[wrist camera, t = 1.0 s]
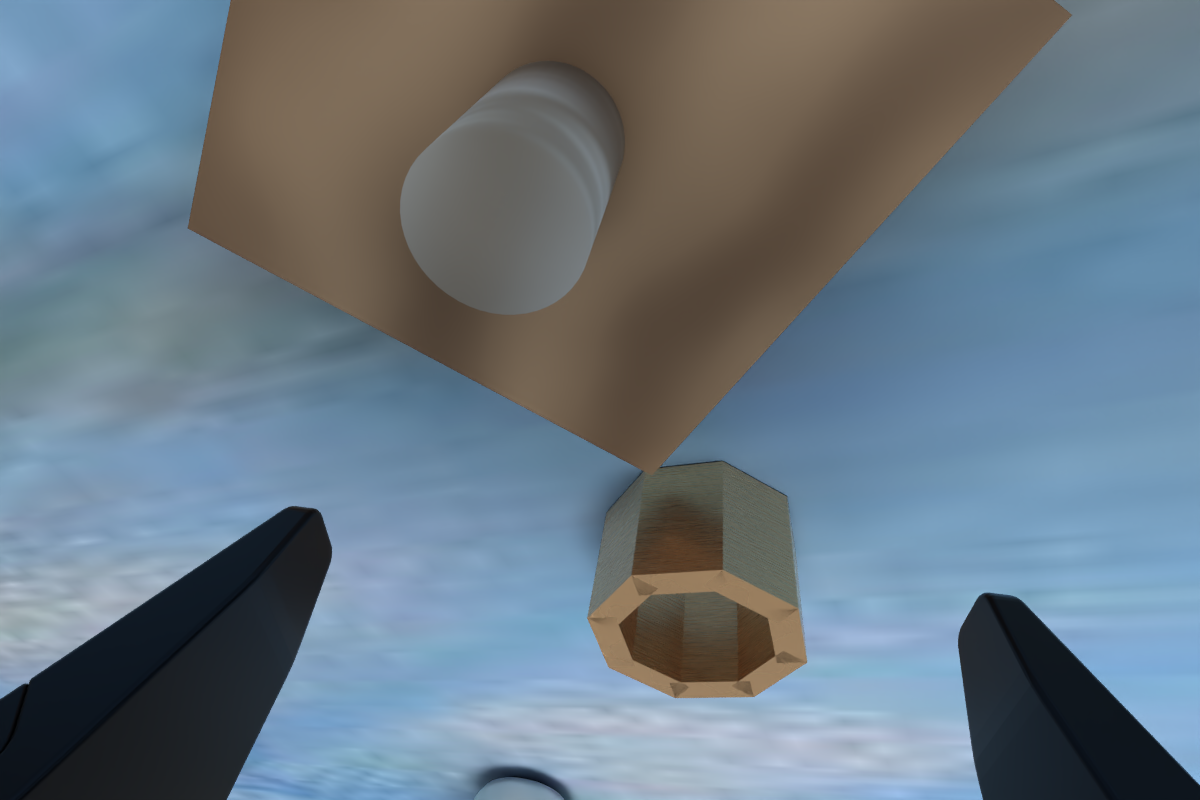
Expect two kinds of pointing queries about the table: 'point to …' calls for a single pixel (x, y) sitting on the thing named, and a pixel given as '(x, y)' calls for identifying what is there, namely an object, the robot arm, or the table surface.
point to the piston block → (588, 175)
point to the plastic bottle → (516, 790)
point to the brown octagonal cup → (699, 584)
